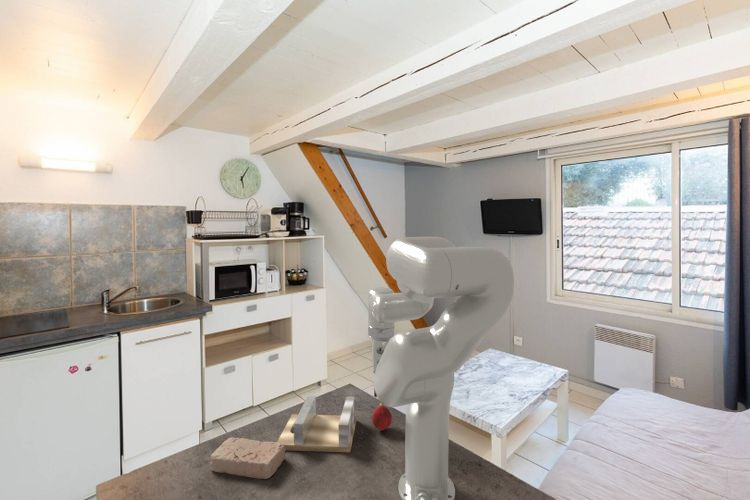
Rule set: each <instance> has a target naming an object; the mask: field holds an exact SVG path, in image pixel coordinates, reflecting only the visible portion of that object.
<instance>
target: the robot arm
mask: <svg viewBox="0 0 750 500" xmlns="http://www.w3.org/2000/svg"><path fill="white" fill-rule="evenodd" d="M385 259H386V260H385V261H386V262H385V263H386V269H387V271H388V274H389V275H390V276H391V277H392V278H393V280H395V281H396V285H397V287H398V289H399V291H400V292H395V291H394V290H393V289H392V288H390V287H385V286H384V287H379V286H378V287H374V288H371V289H370V290H369V291H368V296H367V297H368V299H367V302H368V304H367V305H368V307H367V309H368V311H367V316H368V317H367V324H368V325H367V327H368V329H367V336H368V338H369V339H371V341H372V342H371V343H372V344H371V349H372V351H371V353H372V354H371V355H372V373H373V374H374V376H373V386H374V387H373V389H374V392H373V396H374V397H375V398H377V399H378V401H380V403H382V404H383V406H385V407H387V408H388V407H389V408H397V407H402V406H403V407H404V406H407V405H408V406H407V408H406V413H405V429H404V430H405V431H404V432H405V434H404V435H405V450H404V453H405V455H404V456H405V457H404V458H405V459H404V460H405V462H404V463H405V465H404V467H405V469H404V471H405V472H404V473H403V474H402V475H401V477H400V479H399V481H398V494H399V497H400V499H401V500H455V498H456V488H455V485H454V482H453V480H452V479H451V478H450V477H449V443H450V442H449V441H450V440H449V439H450V438H449V435H450V434H449V431H450V409H451V407H450V406H451V399H452V394H453V391H454V384H455V373H456V372H458V371H459V370H460V369H461V368H462V367H463V366H464V364H465V363H466V362H467V360H469V358H470V357H471V356H472V355H473V354H474V352H475V351H476V349H478V347H479V345H480V344H481V342H482V341H483V340H484V339H485V337H487V335H488V334H490V332H491V331H492V330H493V329H494V328H495V327H496V326H497V324H498V323H499V322H500V321H501V320H502V318H503V317H504V315H505V314H506V313H507V311H508V309H509V307H510V305H511V303H512V300H513V296H514V292H515V291H514V290H515V273H514V269H513V266H512V263H511V262H510V261H511V260H510V259H509V258H508V257H507V256H506V255H505V254H504V253H503V252H501V251H500V250H498V249H495V248H491V247H487V246H455V244H454V243H452V242H451V240H449V239H447V238H445V237H441V236H406V237H405V236H403V237H399V238H397V239H395V240H394V241H393V242H392V243H391V244H390V246H389V247H388V250H387V252H386V258H385ZM451 297H458V298H457V299H456V300H453V302H451V303H450V304H449V305H448V306H446V308H445V309H444V310H443V311H442V313H441V315H440V316H439V318H438V320H437V321H436V322H435V323H434V324H433V325H430V326H427V327H422V328H421V327H420V328H415V329H409V330H403V331H400V332H397V333H396V334H395V323H398V322H404V321H405V322H406V321H413V320H414V321H415V320H418V319H420V318H422V317H423V316H425V315H426V314H427V313H428V312H429V311H430V310H432V308H433V306H434V302H435V301H434V300H435V299H442V298H451Z"/></svg>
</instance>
